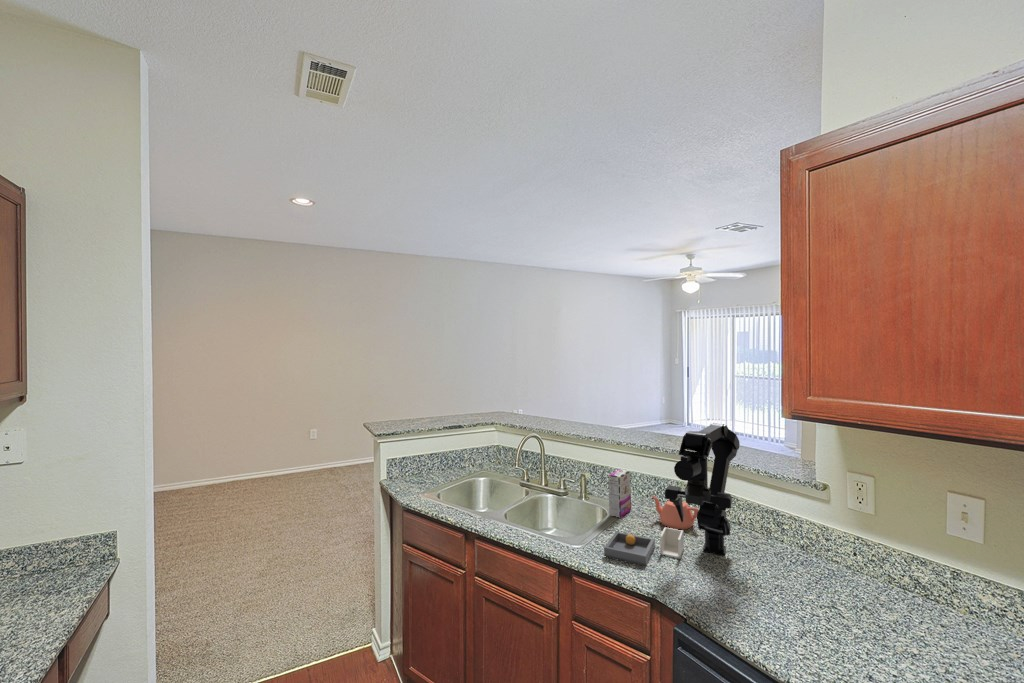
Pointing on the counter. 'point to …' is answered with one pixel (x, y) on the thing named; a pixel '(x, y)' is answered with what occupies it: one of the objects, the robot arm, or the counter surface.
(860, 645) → the counter surface
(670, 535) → the white open holder
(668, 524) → the teapot
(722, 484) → the robot arm
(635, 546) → the tray
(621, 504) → the candy bar box
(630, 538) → the ball
